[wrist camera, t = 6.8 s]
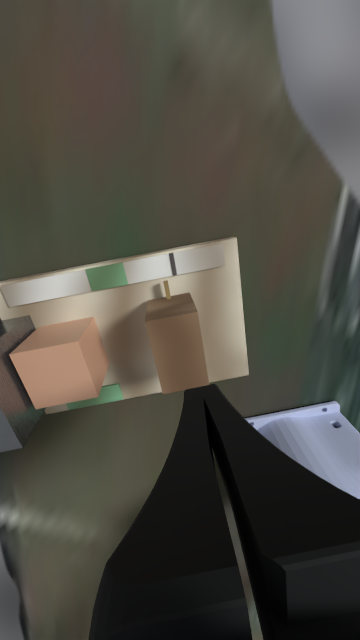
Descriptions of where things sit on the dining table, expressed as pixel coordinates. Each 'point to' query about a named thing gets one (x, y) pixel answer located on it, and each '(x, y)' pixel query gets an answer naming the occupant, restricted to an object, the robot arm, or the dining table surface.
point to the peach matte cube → (62, 363)
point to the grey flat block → (15, 388)
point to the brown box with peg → (176, 342)
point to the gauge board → (140, 310)
